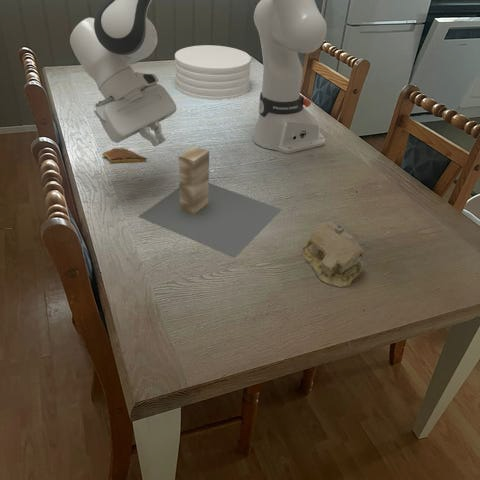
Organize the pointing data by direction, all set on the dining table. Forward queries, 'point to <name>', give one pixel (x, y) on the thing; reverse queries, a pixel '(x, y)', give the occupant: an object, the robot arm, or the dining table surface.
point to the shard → (123, 156)
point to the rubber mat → (215, 219)
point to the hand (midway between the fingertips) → (160, 143)
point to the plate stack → (212, 72)
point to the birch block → (194, 179)
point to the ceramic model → (333, 254)
